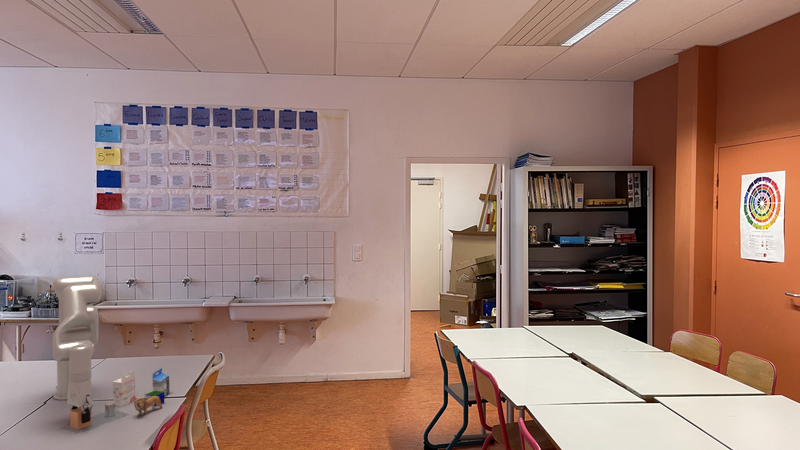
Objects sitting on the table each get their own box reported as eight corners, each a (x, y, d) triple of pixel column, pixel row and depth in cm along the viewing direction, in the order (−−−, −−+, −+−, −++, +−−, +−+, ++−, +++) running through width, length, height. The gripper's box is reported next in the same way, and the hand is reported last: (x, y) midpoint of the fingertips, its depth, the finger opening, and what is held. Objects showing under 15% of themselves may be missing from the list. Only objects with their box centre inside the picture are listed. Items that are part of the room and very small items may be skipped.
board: (59, 429, 202) (59, 427, 202) (113, 410, 222) (113, 409, 222) (76, 435, 197) (76, 433, 197) (130, 416, 216) (130, 414, 216)
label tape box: (160, 399, 236) (160, 373, 235) (152, 399, 236) (152, 373, 235) (169, 393, 244) (169, 367, 244) (161, 392, 244) (161, 367, 244)
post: (105, 416, 214) (105, 404, 214) (111, 414, 216) (111, 402, 216) (108, 417, 213) (108, 405, 213) (114, 415, 215) (114, 403, 215)
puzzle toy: (155, 402, 232) (155, 390, 232) (164, 404, 230) (164, 392, 230) (144, 406, 227) (144, 394, 227) (154, 408, 225) (154, 396, 224)
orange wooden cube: (70, 426, 203) (70, 410, 203) (83, 422, 207) (83, 406, 207) (77, 429, 200) (77, 413, 200) (90, 424, 205) (90, 408, 205)
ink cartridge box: (126, 400, 234) (126, 368, 234) (135, 401, 233) (135, 369, 233) (112, 407, 226) (112, 374, 225) (122, 408, 225) (121, 375, 224)
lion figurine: (141, 421, 211) (140, 399, 211) (130, 419, 212) (130, 398, 212) (166, 408, 225) (166, 388, 225) (156, 407, 227) (156, 387, 226)
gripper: (58, 375, 204) (58, 419, 205) (83, 382, 196) (83, 428, 196) (77, 370, 211) (78, 413, 211) (102, 377, 203) (102, 421, 203)
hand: (80, 420), depth 204 cm, fingers open, 6 cm apart
